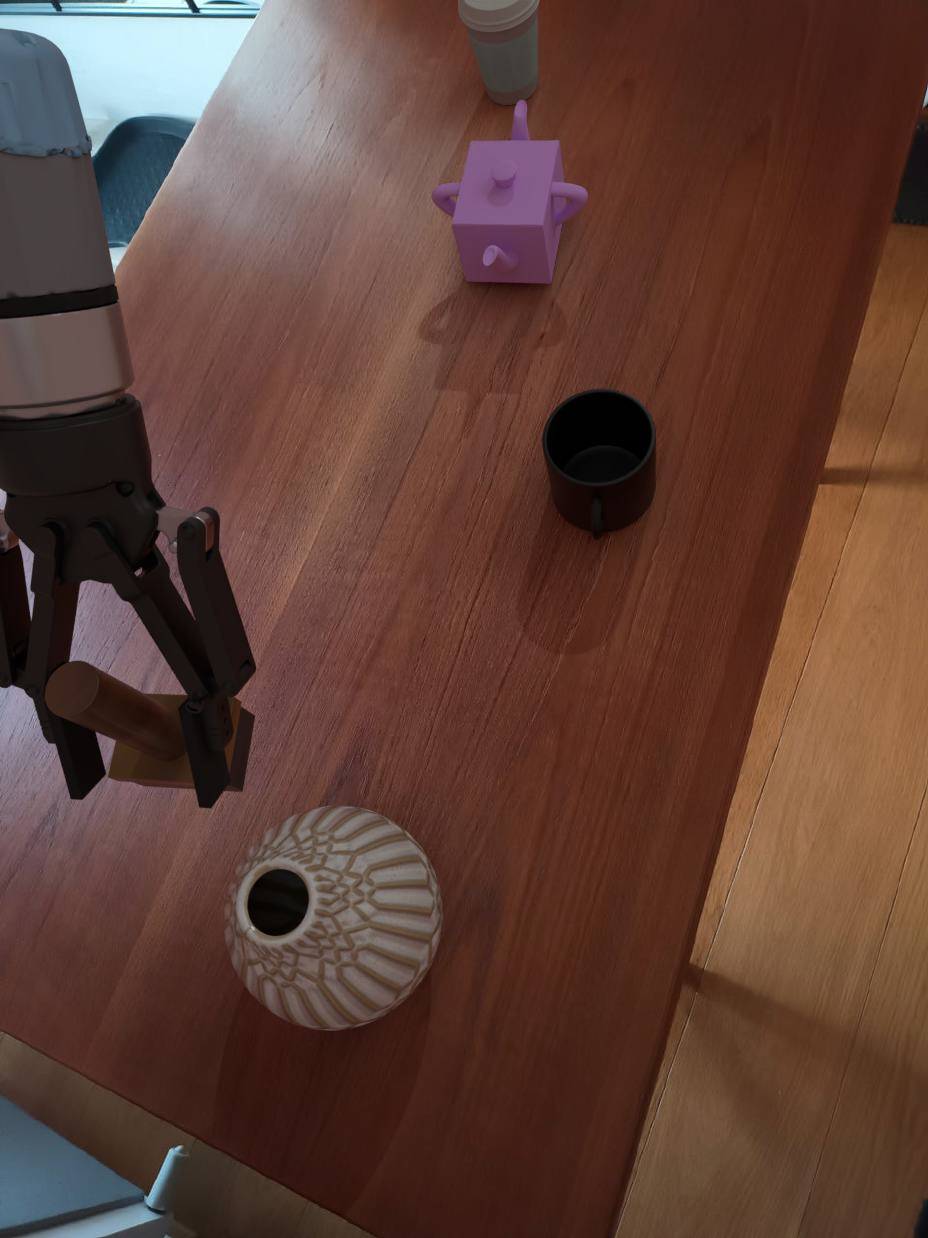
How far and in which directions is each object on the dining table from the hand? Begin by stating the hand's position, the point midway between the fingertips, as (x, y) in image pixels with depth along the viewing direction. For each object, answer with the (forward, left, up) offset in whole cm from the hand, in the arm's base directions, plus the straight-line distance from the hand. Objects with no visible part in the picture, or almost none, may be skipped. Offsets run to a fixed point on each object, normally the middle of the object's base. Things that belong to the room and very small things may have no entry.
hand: (151, 789), depth 56 cm
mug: (+11, +39, -27) cm, 49 cm away
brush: (-1, +3, -5) cm, 6 cm away
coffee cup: (-18, +84, -27) cm, 90 cm away
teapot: (-8, +63, -27) cm, 69 cm away
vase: (+7, -3, -27) cm, 28 cm away
